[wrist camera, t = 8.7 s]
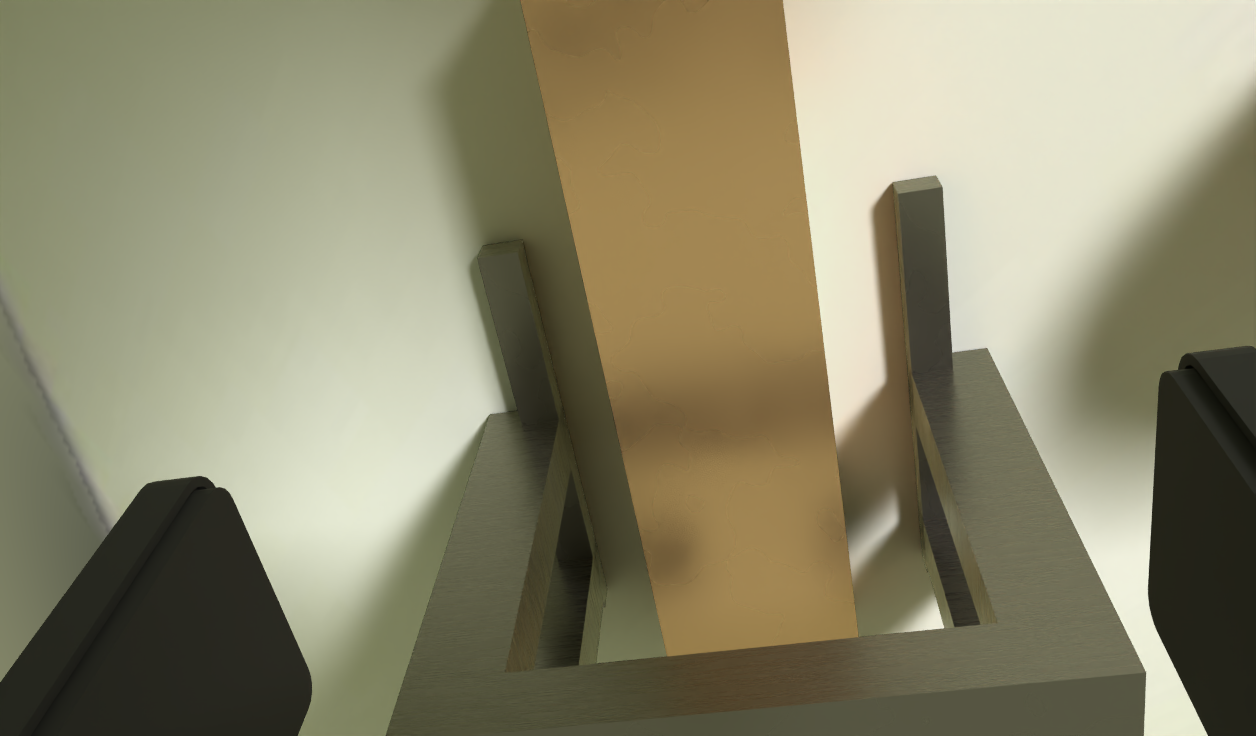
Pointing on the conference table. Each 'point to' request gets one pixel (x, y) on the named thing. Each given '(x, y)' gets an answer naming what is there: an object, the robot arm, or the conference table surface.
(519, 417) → the gray arch posts
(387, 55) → the conference table surface
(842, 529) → the long brass-colored rectangular prism
